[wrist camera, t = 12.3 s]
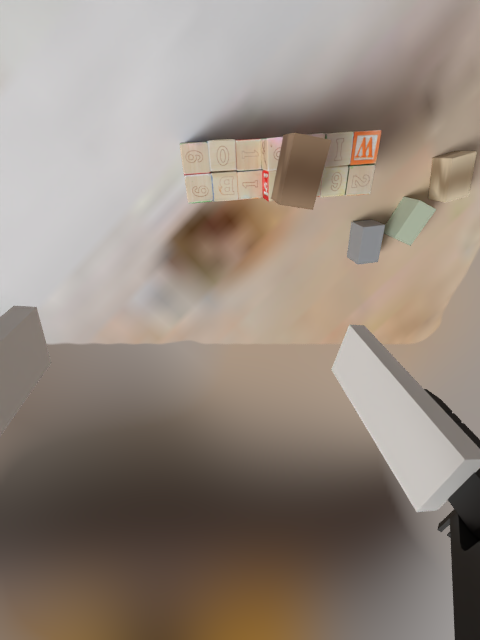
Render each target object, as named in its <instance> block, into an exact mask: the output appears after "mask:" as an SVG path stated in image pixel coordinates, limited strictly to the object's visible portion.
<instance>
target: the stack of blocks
mask: <svg viewBox="0 0 480 640" xmlns="http://www.w3.org/2000/svg"><path fill="white" fill-rule="evenodd" d="M305 135H309V136H314V137H319V138H324V139H329V140H331V144H330V148H329V151H328V155H327V159H326V162H325V166H324V170H323V174H322V177H321V181H320V185H319V188H318V192H317V196H318V197H331V196H343V195H346V196H350V195H365V194H370V192H371V187H372V181H373V176H374V171H375V167H376V165H375V163H376V160H377V155H378V149H379V144H380V138H381V130H370V131H356V132H353V131H349V132H339V133H328V134H324V133H315V134H305ZM282 140H283V137H272V138H261V139H245V140H235V139H220V140H208V141H207V142H187V143H180V150H181V158H182V165H183V172H184V176H185V184H186V191H187V198H188V203H200V202H211V201H214V202H217V201H229V200H242V199H253V198H262V197H263V198H264V199H266V200H267V201H274V200H272V199H271V197H272V191H273V186H274V181H275V176H276V171H277V166H278V160H279V155H280V150H281V145H282ZM317 196H316V197H317Z"/></svg>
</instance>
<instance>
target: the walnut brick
mask: <svg viewBox="0 0 480 640" xmlns="http://www.w3.org/2000/svg"><path fill="white" fill-rule="evenodd" d="M330 144H331V140H329V139H324V138H319V137H314V136H309V135H305V134H300V133H290V134H285V135H283V140H282V145H281V150H280V155H279V160H278V166H277V171H276V176H275V181H274V186H273V191H272V197H271V199H272V200H274V201H275V202H277V203H278V204H280V205H285V206H292V207H298V208H305V209H312V210H313V207H314V203H315V200H316V196H317V192H318V188H319V185H320V181H321V177H322V174H323V170H324V166H325V162H326V159H327V155H328V151H329V148H330Z"/></svg>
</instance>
